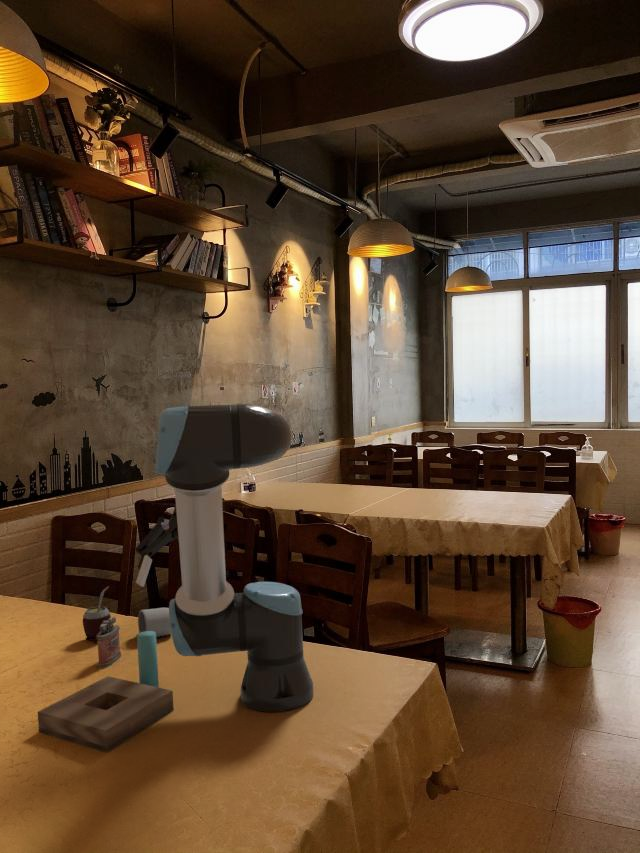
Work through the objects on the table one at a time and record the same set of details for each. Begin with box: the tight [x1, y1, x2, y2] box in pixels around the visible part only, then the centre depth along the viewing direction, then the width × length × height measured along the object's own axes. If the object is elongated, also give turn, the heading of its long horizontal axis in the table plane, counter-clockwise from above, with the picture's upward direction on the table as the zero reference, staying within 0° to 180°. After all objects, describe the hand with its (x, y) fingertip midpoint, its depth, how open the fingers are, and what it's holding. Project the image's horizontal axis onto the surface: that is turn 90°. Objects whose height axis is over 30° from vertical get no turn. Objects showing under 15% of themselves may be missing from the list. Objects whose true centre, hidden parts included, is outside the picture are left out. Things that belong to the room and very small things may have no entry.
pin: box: [136, 631, 160, 688], centre depth 151 cm, size 4×4×12 cm
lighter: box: [97, 616, 122, 669], centre depth 168 cm, size 8×3×10 cm, turn 168°
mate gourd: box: [82, 585, 112, 644], centre depth 183 cm, size 8×8×15 cm
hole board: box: [37, 675, 175, 753], centre depth 137 cm, size 18×18×4 cm
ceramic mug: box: [137, 607, 172, 638], centre depth 186 cm, size 11×8×8 cm
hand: (166, 588), depth 156 cm, fingers open, 13 cm apart
